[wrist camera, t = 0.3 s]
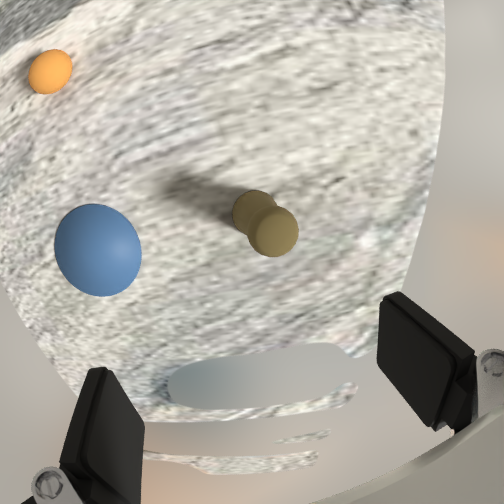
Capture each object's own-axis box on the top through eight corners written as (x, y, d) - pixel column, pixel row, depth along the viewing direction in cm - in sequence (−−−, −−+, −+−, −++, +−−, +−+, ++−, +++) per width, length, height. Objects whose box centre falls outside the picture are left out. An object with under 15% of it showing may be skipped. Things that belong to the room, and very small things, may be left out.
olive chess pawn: (235, 239, 40) (250, 270, 30) (228, 194, 38) (241, 210, 27) (280, 231, 41) (308, 259, 30) (275, 187, 38) (304, 200, 28)
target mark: (44, 218, 34) (43, 219, 34) (126, 192, 35) (126, 192, 35) (74, 303, 38) (73, 303, 38) (153, 285, 40) (153, 286, 39)
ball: (40, 66, 27) (19, 56, 21) (77, 49, 27) (60, 35, 22) (43, 103, 29) (21, 98, 23) (80, 87, 29) (62, 78, 24)
